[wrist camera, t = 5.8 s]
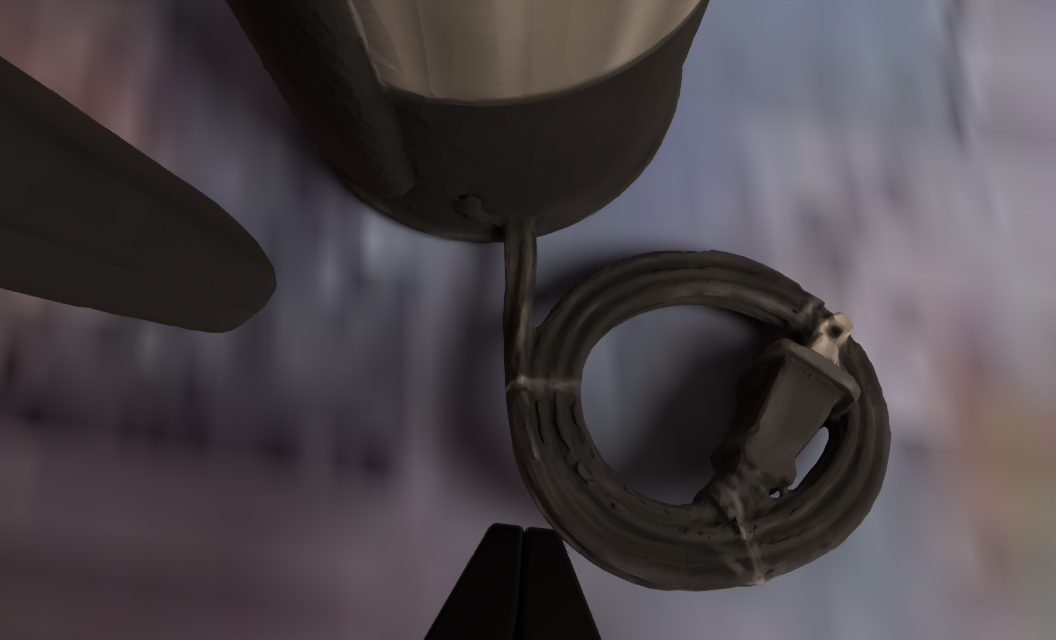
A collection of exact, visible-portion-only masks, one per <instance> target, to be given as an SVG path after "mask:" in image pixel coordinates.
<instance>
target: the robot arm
mask: <svg viewBox="0 0 1056 640" xmlns="http://www.w3.org/2000/svg"><path fill="white" fill-rule="evenodd" d="M424 640H601V637H600V635H599V632H598V629H597V627H596V624H595V622H594V619H593V617H592V614H591V612H590V609H589V607H588V604H587V601H586V599H585V596H584V594H583V591H582V589H581V586H580V584H579V581H578V579H577V576H576V573H575V571H574V568H573V566H572V563H571V561H570V558H569V556H568V553H567V551H566V548H565V546H564V543H563V540H562V538H561V536H560V534H559V533H558V532H557V531H556V530H554V529H546V528H537V527H529V528H527V529H526V530H525V533H524V530H523V528H522V527H521V526H519V525H510V524H501V523H494V524H492V525H491V526H490V527H489V528H488V530H487V532H486V533H485V535H484V537H483V538H482V540H481V542H480V544H479V545H478V547H477V549H476V550H475V552H474V554H473V556H472V557H471V559H470V561H469V562H468V564H467V566H466V568H465V569H464V571H463V573H462V574H461V576H460V578H459V580H458V581H457V583H456V585H455V586H454V588H453V590H452V592H451V593H450V595H449V597H448V598H447V600H446V602H445V604H444V605H443V607H442V609H441V610H440V612H439V614H438V616H437V617H436V619H435V621H434V622H433V624H432V626H431V628H430V629H429V631H428V633H427V634H426V636H425V638H424Z"/></svg>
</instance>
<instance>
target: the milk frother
mask: <svg viewBox="0 0 1056 640" xmlns="http://www.w3.org/2000/svg"><path fill="white" fill-rule="evenodd" d="M225 1H226V2H227V4H228V5H229V7H230V8H231V10H232V12H233V13H234V15H235V16H236V18H237V20H238V21H239V23H240V25H241V27H242V28H243V30H244V32H245V34H246V35H247V37H248V38H249V40H250V41H251V43H252V45H253V47H254V48H255V50H256V51H257V53H258V55H259V56H260V58H261V60H262V63H263V65H264V67H265V68H266V69H267V71H268V72H269V74H270V76H271V77H272V79H273V81H274V82H275V84H276V86H277V88H278V90H279V91H280V93H281V94H282V96H283V98H284V100H285V101H286V103H287V104H288V106H289V108H290V110H291V112H292V114H293V115H294V116H295V118H296V119H297V121H298V122H299V123H300V125H301V126H302V128H303V129H304V130H305V132H306V133H307V135H308V136H309V137H310V138H311V140H312V141H313V142H314V143H315V144H316V145H317V147H318V148H319V150H320V152H321V153H322V155H323V157H324V158H325V160H326V161H327V162H328V164H329V165H330V166H331V167H332V168H333V170H334V171H335V172H336V173H337V174H338V175H339V176H340V177H341V178H342V179H343V181H344V182H345V184H347V185H348V186H349V187H350V188H351V189H352V190H353V191H354V193H356V194H357V195H358V196H360V197H361V198H362V199H363V200H364V201H365V202H366V203H367V204H369V205H371V206H373V207H375V208H376V209H378V210H379V211H381V212H382V213H384V214H386V215H387V216H389V217H391V218H393V219H395V220H397V221H399V222H401V223H403V224H405V225H407V226H409V227H411V228H414V229H417V230H419V231H422V232H425V233H429V234H433V235H436V236H440V237H443V238H447V239H452V240H464V241H473V242H477V243H488V242H504V258H505V295H504V312H503V332H504V367H505V388H506V402H507V410H508V419H509V425H510V431H511V438H512V444H513V450H514V455H515V459H516V463H517V466H518V469H519V472H520V475H521V478H522V480H523V482H524V484H525V486H526V488H527V490H528V491H529V493H530V495H531V497H532V499H533V501H534V502H535V504H536V506H537V507H538V509H539V510H540V512H541V513H542V514H543V516H544V517H545V519H546V520H547V522H548V523H549V524H550V525H551V526H552V528H553V529H554V530H556V531H557V532H558V533H559V534H560V536H561V538H562V539H563V540H564V541H565V542H566V543H568V544H569V545H570V546H571V547H572V548H573V549H575V550H576V551H577V552H578V553H580V554H581V555H582V556H584V557H585V558H586V559H587V560H589V561H590V562H592V563H593V564H595V565H596V566H598V567H600V568H601V569H603V570H605V571H607V572H609V573H611V574H613V575H615V576H617V577H619V578H622V579H624V580H626V581H629V582H631V583H634V584H637V585H640V586H644V587H647V588H651V589H658V590H666V591H670V590H685V591H708V590H717V589H726V588H732V587H738V586H753V585H763V584H764V583H765V582H767V581H769V580H770V579H772V578H774V577H777V576H779V575H782V574H785V573H788V572H791V571H793V570H795V569H797V568H799V567H801V566H804V565H806V564H808V563H810V562H812V561H814V560H815V559H817V558H819V557H821V556H822V555H824V554H826V553H828V552H829V551H831V550H833V549H835V548H837V547H838V546H839V545H840V544H841V543H843V542H844V541H845V540H846V538H847V537H848V536H849V535H850V534H851V533H852V532H853V531H854V530H855V529H856V528H857V527H858V526H859V525H860V524H861V522H862V521H863V520H864V518H865V517H866V516H867V514H868V513H869V512H870V510H871V508H872V506H873V503H874V501H875V500H876V498H877V496H878V494H879V492H880V490H881V487H882V484H883V480H884V477H885V473H886V469H887V463H888V457H889V452H890V442H891V431H890V426H889V414H888V410H887V405H886V402H885V400H884V397H883V393H882V388H881V386H880V384H879V381H878V378H877V375H876V373H875V370H874V367H873V365H872V363H871V362H870V360H869V359H868V357H867V355H866V352H865V351H864V350H863V348H862V347H861V346H860V344H858V343H856V342H855V341H854V340H853V339H852V337H851V335H850V333H851V331H852V328H853V324H852V321H851V320H850V319H849V318H848V317H847V316H846V315H844V314H843V313H840V312H837V313H835V314H833V313H831V312H830V311H828V310H827V309H826V308H825V307H824V304H825V303H824V302H823V301H822V300H821V299H819V298H817V297H815V296H813V295H812V294H810V293H808V292H806V291H804V290H803V289H802V288H801V286H800V285H799V284H798V283H796V282H794V281H793V280H791V279H789V278H788V277H786V276H784V275H783V274H782V273H780V272H778V271H776V270H774V269H772V268H770V267H768V266H766V265H764V264H761V263H759V262H756V261H754V260H751V259H749V258H746V257H744V256H740V255H736V254H732V253H728V252H722V251H716V250H711V251H702V252H696V251H694V252H693V251H688V252H682V251H659V252H650V253H646V254H641V255H638V256H634V257H630V258H627V259H623V260H619V261H617V262H615V263H613V264H611V265H609V266H606V267H604V268H601V269H599V270H598V271H596V272H595V273H593V274H592V275H590V276H589V277H588V278H586V279H585V280H584V281H582V282H581V283H580V284H578V285H577V286H576V287H574V288H573V289H572V290H570V291H569V292H568V293H566V294H565V296H564V297H563V298H562V299H561V300H560V301H559V302H558V303H557V304H556V305H555V306H554V307H553V308H552V310H551V311H550V313H549V314H548V316H547V317H546V319H545V320H544V321H543V322H542V324H541V325H540V326H539V327H537V328H535V327H534V326H533V303H534V292H535V280H536V265H537V244H536V237H539V236H542V235H546V234H549V233H552V232H555V231H557V230H560V229H563V228H566V227H569V226H571V225H573V224H575V223H577V222H579V221H582V220H583V219H585V218H587V217H589V216H591V215H593V214H595V213H596V212H598V211H599V210H600V209H602V208H603V207H605V206H606V205H607V204H609V203H610V202H611V201H613V200H614V199H615V198H617V197H618V196H619V195H620V194H621V193H622V192H623V191H625V190H626V189H627V188H628V187H629V186H630V185H631V184H632V183H633V182H634V181H635V180H636V179H637V178H638V177H639V176H640V175H641V174H642V172H643V171H644V169H645V168H646V167H647V166H648V164H649V163H650V162H651V160H652V159H653V157H654V156H655V154H656V152H657V151H658V149H659V147H660V146H661V144H662V141H663V139H664V137H665V135H666V132H667V130H668V128H669V126H670V123H671V121H672V119H673V117H674V114H675V111H676V108H677V103H678V99H679V96H680V88H681V81H682V66H683V64H684V61H685V59H686V57H687V55H688V52H689V49H690V47H691V44H692V41H693V38H694V36H695V35H696V32H697V30H698V28H699V25H700V23H701V20H702V18H703V15H704V13H705V11H706V8H707V6H708V3H709V0H225ZM276 286H277V285H276V277H275V272H274V268H273V266H272V264H271V263H270V261H269V259H268V258H267V256H266V254H265V253H264V251H263V250H262V248H261V247H260V245H259V244H258V242H257V241H256V240H255V239H254V238H253V237H252V236H251V235H250V234H249V233H248V232H247V231H246V230H245V229H244V228H243V227H242V226H241V225H240V224H239V223H238V222H237V221H236V220H235V219H234V218H233V217H232V216H231V215H229V214H228V213H227V212H226V211H225V210H224V209H223V208H221V207H220V206H219V205H218V204H217V203H216V202H214V201H213V200H211V199H210V198H208V197H207V196H206V195H204V194H203V193H201V192H200V191H199V190H197V189H196V188H194V187H193V186H191V185H190V184H188V183H187V182H185V181H183V180H182V179H180V178H179V177H177V176H176V175H174V174H173V173H171V172H170V171H168V170H167V169H166V168H164V167H163V166H161V165H160V164H158V163H157V162H156V161H154V160H152V159H151V158H149V157H148V156H146V155H145V154H143V153H142V152H141V151H139V150H138V149H136V148H135V147H133V146H132V145H130V144H129V143H127V142H126V141H124V140H123V139H122V138H120V137H119V136H118V135H116V134H114V133H113V132H111V131H110V130H108V129H107V128H105V127H104V126H102V125H101V124H99V123H98V122H96V121H95V120H93V119H92V118H90V117H89V116H88V115H86V114H85V113H83V112H82V111H81V110H79V109H78V108H76V107H75V106H74V105H72V104H71V103H69V102H68V101H67V100H65V99H64V98H62V97H61V96H60V95H58V94H57V93H55V92H54V91H52V90H50V89H48V88H47V87H46V86H44V85H43V84H41V83H40V82H38V81H37V80H35V79H34V78H32V77H31V76H29V75H28V74H26V73H25V72H23V71H22V70H20V69H19V68H17V67H16V66H14V65H13V64H11V63H10V62H8V61H7V60H5V59H4V58H2V57H1V56H0V288H2V289H6V290H11V291H15V292H19V293H23V294H27V295H31V296H35V297H39V298H43V299H47V300H52V301H56V302H60V303H64V304H68V305H73V306H77V307H87V308H92V309H96V310H100V311H103V312H107V313H111V314H116V315H121V316H127V317H132V318H138V319H142V320H146V321H151V322H155V323H160V324H165V325H170V326H177V327H181V328H185V329H188V330H197V331H203V332H209V333H223V332H227V331H231V330H233V329H235V328H237V327H239V326H240V325H242V324H243V323H245V322H246V321H247V320H248V319H249V318H251V317H252V316H253V315H254V314H256V313H257V312H258V311H260V310H261V309H262V308H264V306H265V305H266V303H267V302H268V300H269V299H270V297H271V296H272V294H273V293H274V291H275V289H276ZM676 305H708V306H715V307H720V308H726V309H730V310H734V311H737V312H741V313H744V314H747V315H749V316H752V317H754V318H756V319H759V320H761V321H763V322H765V323H767V324H769V325H771V326H773V327H775V328H777V329H778V330H780V331H781V332H783V333H784V334H786V335H787V336H789V337H790V338H792V339H793V340H794V341H795V342H796V343H795V342H793V341H791V340H789V339H787V338H782V339H777V340H776V341H775V342H773V343H772V344H771V345H770V346H768V347H767V348H766V350H765V351H764V352H763V354H762V355H760V356H759V357H758V358H757V359H756V360H755V362H754V363H753V364H752V365H751V366H750V367H749V368H747V369H746V370H745V371H744V372H743V373H742V375H741V376H740V378H739V381H738V383H737V386H736V389H735V393H736V396H737V397H738V398H739V399H740V400H741V403H740V406H739V408H738V410H737V412H736V413H735V415H734V417H733V418H732V420H731V424H730V427H729V430H728V432H727V434H726V438H725V440H723V441H722V443H721V444H720V445H719V446H717V447H716V448H715V449H714V450H713V451H712V453H711V455H710V460H711V463H712V466H713V468H714V469H715V471H716V473H715V474H714V476H713V477H712V478H711V480H710V481H709V482H708V484H707V485H706V486H705V487H704V488H703V489H701V490H700V491H699V492H698V493H697V494H696V496H695V497H694V499H693V503H691V504H683V505H670V504H666V503H662V502H659V501H655V500H652V499H649V498H647V497H645V496H643V495H641V494H639V493H637V492H636V491H634V490H633V489H631V488H630V487H628V486H627V485H626V484H625V483H624V482H623V481H621V480H620V479H619V477H618V476H617V475H616V474H615V473H614V472H613V471H612V470H611V469H610V468H609V466H608V465H607V464H606V463H605V462H604V460H603V459H602V457H601V455H600V453H599V452H598V450H597V448H596V446H595V445H594V443H593V441H592V438H591V436H590V434H589V431H588V429H587V427H586V424H585V422H584V417H583V411H582V406H581V380H582V373H583V367H584V365H585V362H586V359H587V357H588V355H589V353H590V351H591V349H592V348H593V347H594V345H595V344H596V343H597V342H598V341H599V340H600V339H601V338H602V337H603V336H604V335H605V334H607V333H608V332H609V331H610V330H611V329H612V328H614V327H616V326H618V325H619V324H621V323H623V322H624V321H626V320H628V319H630V318H632V317H634V316H637V315H639V314H642V313H645V312H648V311H651V310H655V309H658V308H663V307H669V306H676ZM822 427H826V428H828V432H829V439H828V442H827V444H826V446H825V449H824V451H823V453H822V455H821V456H820V458H819V460H818V461H817V463H816V464H815V465H814V466H813V468H812V469H811V470H810V471H809V472H808V473H807V475H806V476H805V477H804V479H803V480H802V481H801V483H800V484H799V485H798V486H797V488H795V489H794V490H788V489H787V487H789V486H790V485H792V484H793V482H794V479H795V477H796V469H795V464H794V463H795V458H796V457H797V456H798V454H799V453H800V452H801V451H802V450H803V449H804V447H805V446H806V445H807V444H808V443H809V442H810V441H811V439H812V438H813V437H814V436H815V435H816V433H817V432H818V430H819V429H820V428H822ZM776 491H779V493H780V497H779V498H771V497H770V496H769V495H772V494H774V493H775V492H776Z"/></svg>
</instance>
